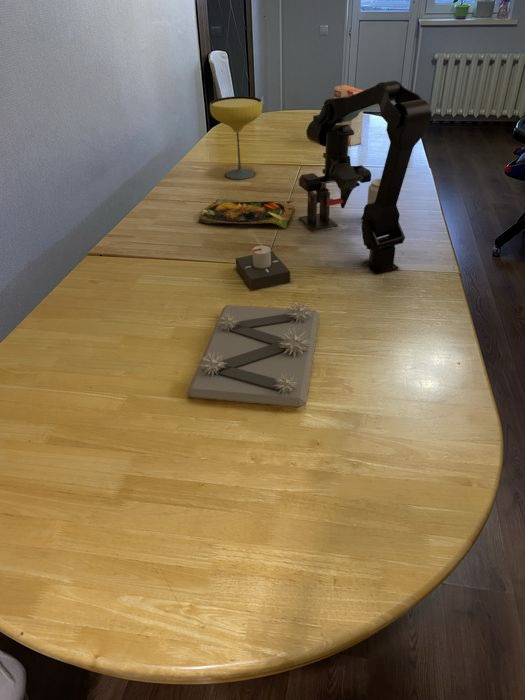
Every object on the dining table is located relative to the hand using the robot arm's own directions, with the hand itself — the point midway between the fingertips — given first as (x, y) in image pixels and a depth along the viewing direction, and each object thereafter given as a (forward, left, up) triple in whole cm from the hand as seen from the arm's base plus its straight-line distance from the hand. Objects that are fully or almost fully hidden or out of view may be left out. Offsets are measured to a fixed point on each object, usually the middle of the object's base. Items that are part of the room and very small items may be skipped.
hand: (333, 209), depth 142 cm
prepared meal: (+24, +17, -8) cm, 30 cm away
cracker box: (+84, -48, -8) cm, 97 cm away
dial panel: (-13, +26, -8) cm, 30 cm away
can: (+4, -17, -8) cm, 19 cm away
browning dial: (-13, +26, -5) cm, 30 cm away
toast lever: (+5, 0, 0) cm, 5 cm away
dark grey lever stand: (+10, 0, -8) cm, 12 cm away
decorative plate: (-44, +38, -8) cm, 59 cm away
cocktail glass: (+63, +7, -8) cm, 64 cm away
